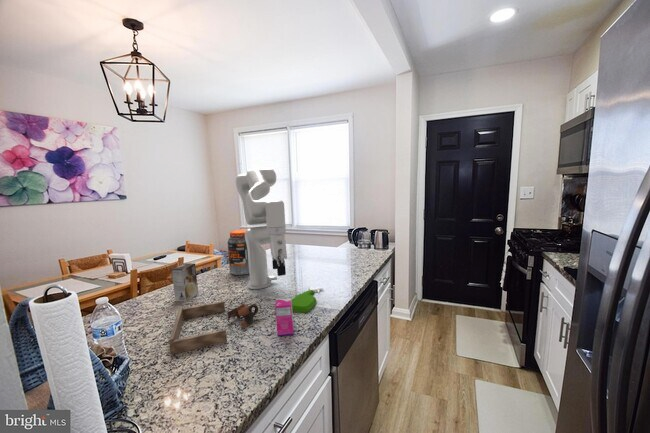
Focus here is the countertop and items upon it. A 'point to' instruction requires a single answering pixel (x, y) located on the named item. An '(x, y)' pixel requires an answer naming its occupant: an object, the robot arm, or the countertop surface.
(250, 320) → the pottery mug
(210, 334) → the wooden u-shaped frame
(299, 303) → the spray bottle
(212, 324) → the countertop surface
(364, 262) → the countertop surface
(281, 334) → the supplement box
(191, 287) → the coffee box
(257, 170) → the robot arm
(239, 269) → the supplement tub
